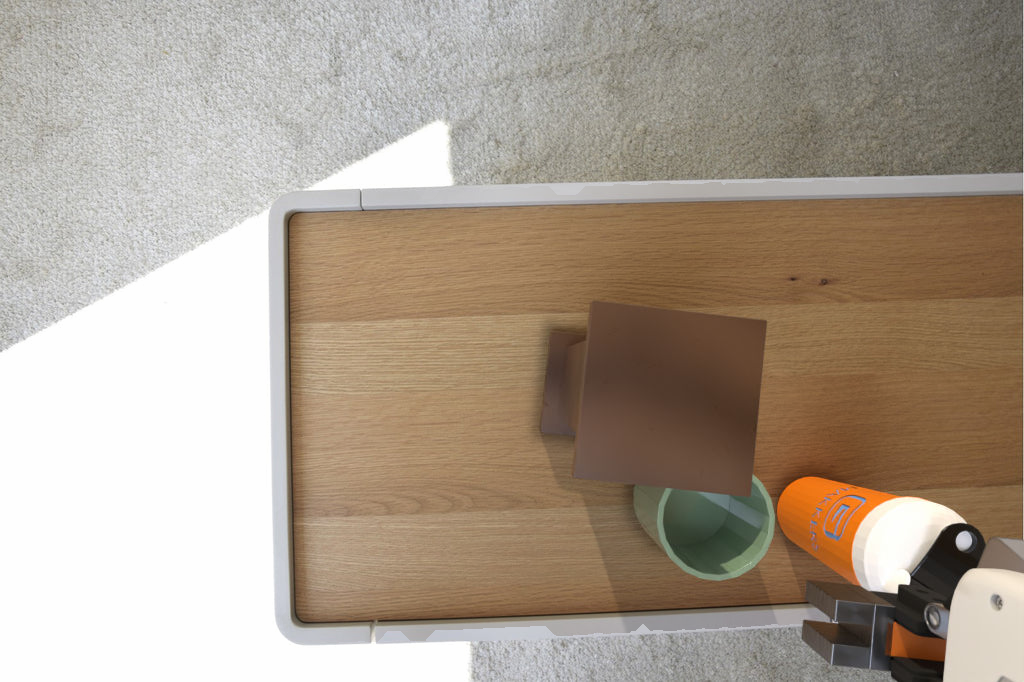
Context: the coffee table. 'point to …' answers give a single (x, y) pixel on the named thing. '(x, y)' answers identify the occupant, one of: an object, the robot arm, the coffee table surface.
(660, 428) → the stand
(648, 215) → the coffee table surface
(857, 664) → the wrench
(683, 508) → the green cup
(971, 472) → the coffee table surface
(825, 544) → the shaker bottle
